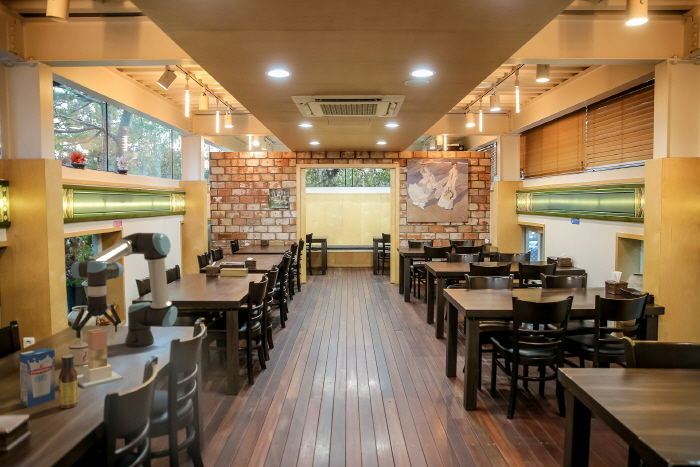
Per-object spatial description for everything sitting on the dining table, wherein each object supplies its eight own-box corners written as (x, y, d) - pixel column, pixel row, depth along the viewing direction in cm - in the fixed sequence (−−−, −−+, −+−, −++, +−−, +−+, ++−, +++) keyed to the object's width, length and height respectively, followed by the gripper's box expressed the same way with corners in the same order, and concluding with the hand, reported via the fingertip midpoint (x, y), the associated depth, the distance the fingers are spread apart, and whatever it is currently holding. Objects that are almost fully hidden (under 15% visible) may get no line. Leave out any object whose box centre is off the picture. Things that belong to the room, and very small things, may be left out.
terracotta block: (101, 345, 221) (101, 328, 221) (106, 348, 217) (106, 330, 217) (87, 348, 217) (87, 330, 216) (92, 350, 213) (92, 332, 212)
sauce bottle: (64, 403, 190) (63, 353, 189) (80, 402, 191) (80, 353, 190) (55, 409, 184) (55, 358, 183) (72, 409, 184) (72, 358, 183)
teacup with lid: (86, 365, 236) (86, 341, 235) (66, 366, 234) (66, 342, 233) (94, 358, 248) (93, 335, 247) (74, 359, 246) (74, 336, 245)
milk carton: (27, 407, 185) (27, 356, 184) (19, 404, 188) (19, 353, 187) (55, 399, 194) (54, 350, 193) (47, 396, 197) (46, 347, 196)
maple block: (102, 362, 222) (102, 345, 221) (107, 365, 217) (107, 348, 217) (88, 365, 217) (87, 348, 217) (92, 368, 213) (92, 350, 213)
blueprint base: (109, 370, 229) (109, 358, 228) (122, 379, 218) (122, 366, 218) (71, 378, 217) (71, 365, 217) (84, 388, 206) (84, 374, 206)
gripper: (122, 291, 227) (122, 335, 228) (63, 297, 209) (63, 345, 210) (128, 293, 222) (129, 338, 223) (68, 299, 204) (69, 349, 205)
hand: (97, 342), depth 217 cm, fingers open, 13 cm apart
